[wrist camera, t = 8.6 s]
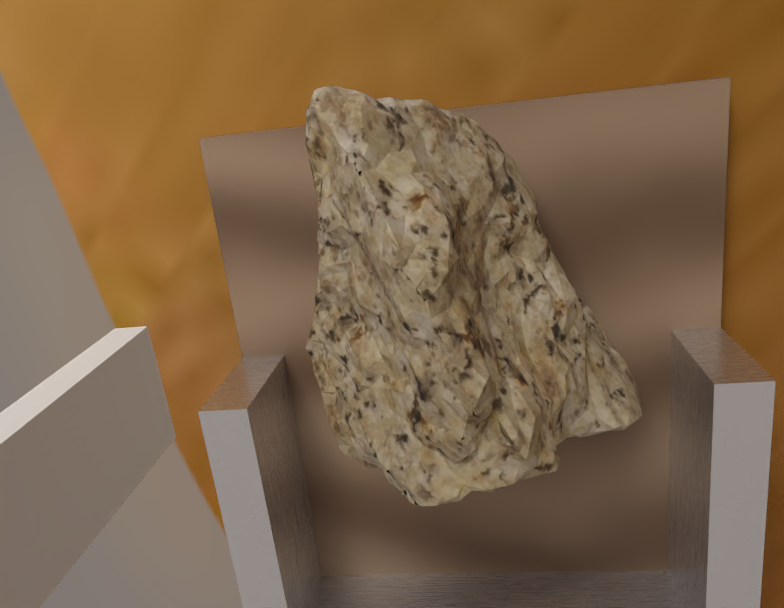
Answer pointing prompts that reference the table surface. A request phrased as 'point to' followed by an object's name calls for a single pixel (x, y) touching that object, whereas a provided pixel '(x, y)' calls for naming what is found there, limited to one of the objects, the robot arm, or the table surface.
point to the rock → (445, 306)
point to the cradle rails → (527, 589)
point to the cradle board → (592, 284)
